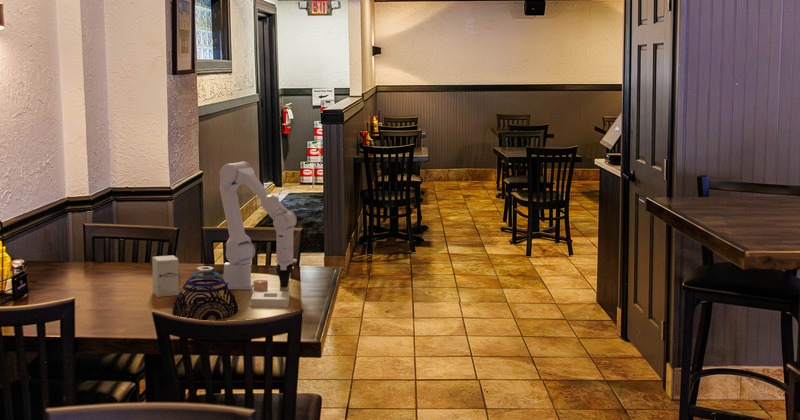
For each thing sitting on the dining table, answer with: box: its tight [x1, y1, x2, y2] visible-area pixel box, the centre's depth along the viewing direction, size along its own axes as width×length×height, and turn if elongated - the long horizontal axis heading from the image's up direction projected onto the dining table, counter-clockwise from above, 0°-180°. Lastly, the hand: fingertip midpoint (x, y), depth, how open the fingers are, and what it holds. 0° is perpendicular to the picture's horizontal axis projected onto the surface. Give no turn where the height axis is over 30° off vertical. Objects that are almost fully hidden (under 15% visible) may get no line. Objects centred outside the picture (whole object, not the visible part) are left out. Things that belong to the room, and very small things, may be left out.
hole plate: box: [250, 290, 291, 308], centre depth 287 cm, size 12×10×2 cm
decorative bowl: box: [172, 265, 239, 321], centre depth 273 cm, size 20×20×14 cm
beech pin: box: [279, 281, 290, 291], centre depth 297 cm, size 3×3×8 cm
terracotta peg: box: [252, 279, 269, 292], centre depth 294 cm, size 5×5×5 cm
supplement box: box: [151, 254, 180, 298], centre depth 292 cm, size 7×7×13 cm
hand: (284, 285), depth 297 cm, fingers open, 3 cm apart
